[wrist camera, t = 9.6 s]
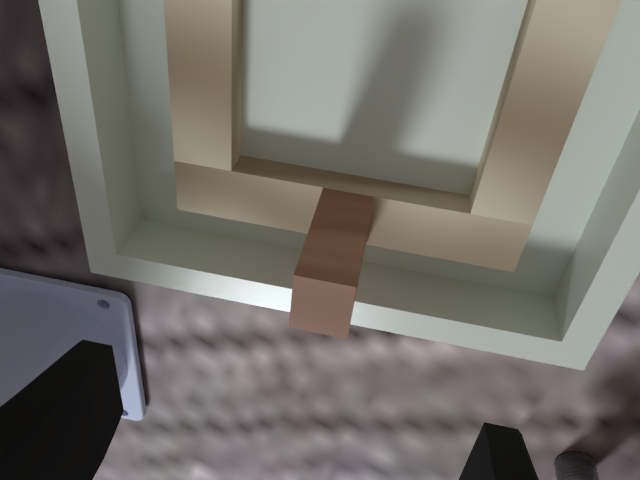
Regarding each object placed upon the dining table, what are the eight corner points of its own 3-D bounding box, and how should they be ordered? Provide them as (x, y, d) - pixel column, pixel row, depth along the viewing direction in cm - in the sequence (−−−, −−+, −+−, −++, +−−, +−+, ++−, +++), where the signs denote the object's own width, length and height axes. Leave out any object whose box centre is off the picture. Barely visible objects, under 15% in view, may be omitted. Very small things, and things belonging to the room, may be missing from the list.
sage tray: (124, 229, 21) (90, 272, 19) (35, -421, 11) (-53, -471, 9) (569, 314, 20) (583, 370, 18) (899, -342, 10) (1010, -380, 8)
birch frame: (168, -212, 13) (38, -223, 9) (664, -151, 12) (774, -133, 8) (188, 192, 19) (119, 293, 15) (511, 252, 18) (528, 375, 14)
